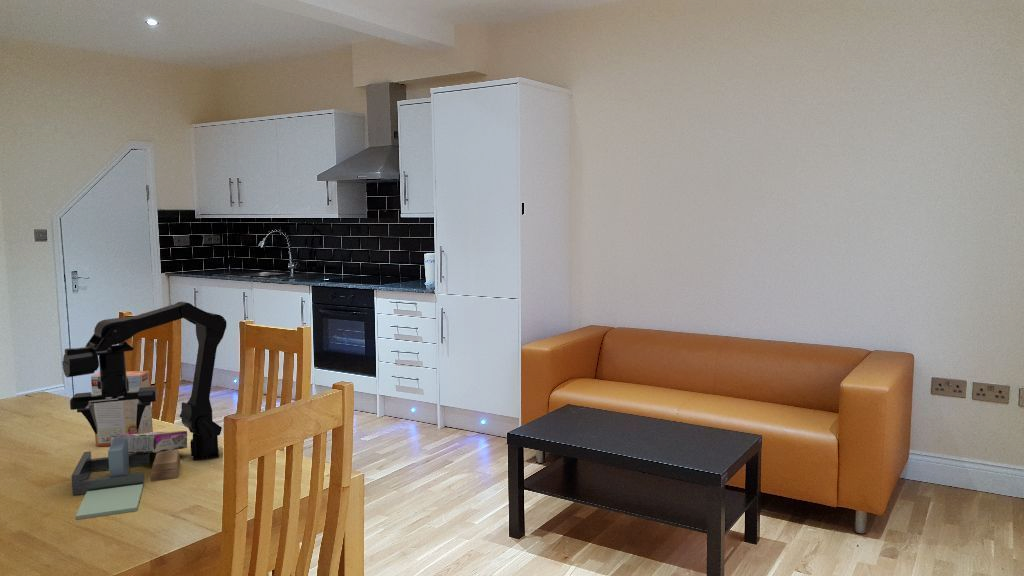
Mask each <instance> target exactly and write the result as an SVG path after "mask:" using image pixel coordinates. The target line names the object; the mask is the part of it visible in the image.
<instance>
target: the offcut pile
mask: <svg viewBox="0 0 1024 576" xmlns="http://www.w3.org/2000/svg"><path fill="white" fill-rule="evenodd" d="M155 453H156V454H155V457H154V459H153V463H152V468H151V472H150V480H151V482H156V480H157V481H164V480H165V481H166V480H171V479H178V478H179V472H180V470H179V469H180V464H181V463H180V462H181V460H180V459H181V457H180V456H181V455H180V454H179V449H177V450H170V451H163V452H155Z"/></svg>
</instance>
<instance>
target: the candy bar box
mask: <svg viewBox="0 0 1024 576" xmlns="http://www.w3.org/2000/svg"><path fill="white" fill-rule="evenodd" d="M121 436H127V438H128V453H129V454H137V453H148V452H149V453H157V452H164V451H172V450H183V449H187V448H188V430H178V431H177V430H174V431H156V432H155V431H153V432H149V433H135V434H126V435H118V436H111V437H110V446H111V444H112V441H113V439H114V437H121ZM110 446H109V447H110Z"/></svg>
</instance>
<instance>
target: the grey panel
mask: <svg viewBox="0 0 1024 576" xmlns="http://www.w3.org/2000/svg"><path fill="white" fill-rule="evenodd" d="M129 454H130V453H128V438H127V436H121V437H114V439H113V441H112V444H111V446H109V448H108V451H107V455H108V456H107V457H108V459H109V470H108V472H109V473H108V474H109V477H110V476H118V475H126V474H129V472H130V468H131V467H129Z"/></svg>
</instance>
